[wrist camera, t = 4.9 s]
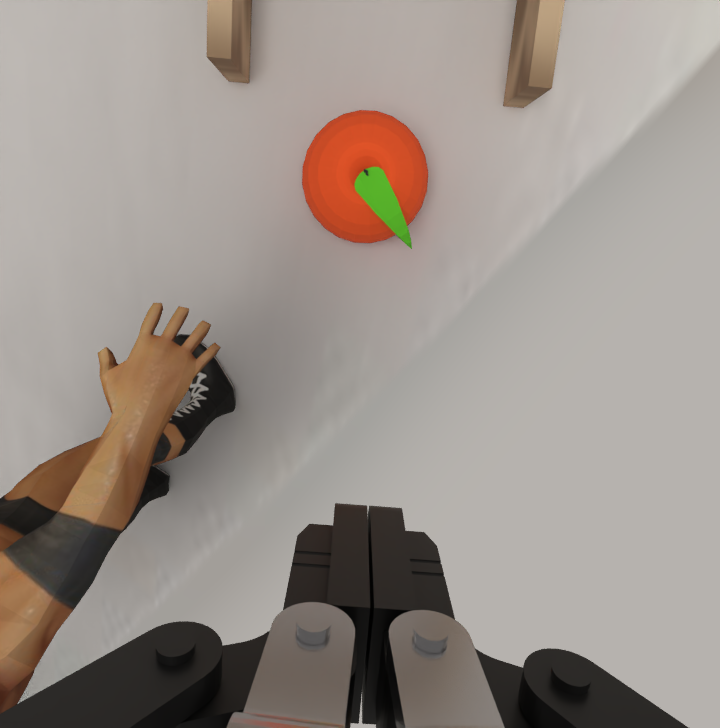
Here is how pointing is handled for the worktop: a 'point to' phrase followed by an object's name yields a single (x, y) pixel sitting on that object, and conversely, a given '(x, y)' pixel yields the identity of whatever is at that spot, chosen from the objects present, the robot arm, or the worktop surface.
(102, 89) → the worktop surface
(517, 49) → the bay
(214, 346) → the figurine
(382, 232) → the clementine
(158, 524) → the worktop surface
